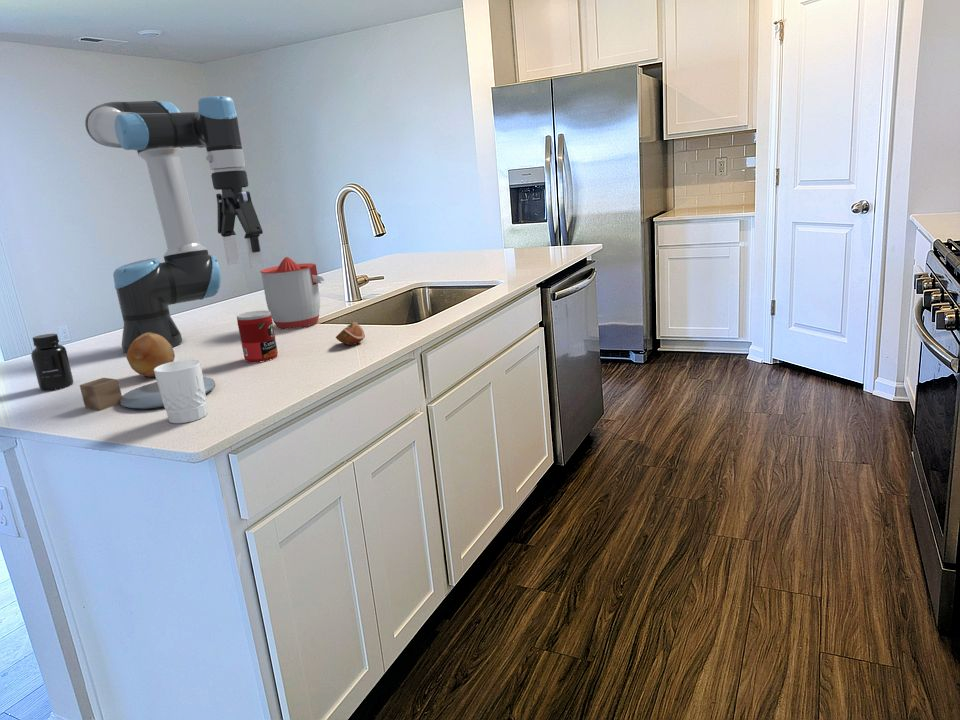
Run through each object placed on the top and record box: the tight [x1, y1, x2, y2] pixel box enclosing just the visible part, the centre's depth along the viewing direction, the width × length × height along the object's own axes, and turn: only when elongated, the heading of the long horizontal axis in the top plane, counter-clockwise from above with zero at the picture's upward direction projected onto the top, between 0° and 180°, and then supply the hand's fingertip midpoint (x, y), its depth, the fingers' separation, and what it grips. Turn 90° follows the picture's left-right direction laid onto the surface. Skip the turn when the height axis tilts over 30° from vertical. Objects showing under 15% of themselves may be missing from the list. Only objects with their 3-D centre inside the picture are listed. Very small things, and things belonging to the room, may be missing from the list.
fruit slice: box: [335, 321, 366, 345], centre depth 171 cm, size 8×7×5 cm
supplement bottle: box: [30, 333, 74, 391], centre depth 156 cm, size 7×7×12 cm
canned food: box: [236, 310, 278, 363], centre depth 164 cm, size 8×8×11 cm
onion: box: [126, 332, 175, 378], centre depth 158 cm, size 10×10×10 cm
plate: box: [120, 376, 216, 409], centre depth 142 cm, size 18×18×1 cm
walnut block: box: [79, 377, 123, 411], centre depth 139 cm, size 5×5×5 cm
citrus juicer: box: [259, 256, 325, 330], centre depth 199 cm, size 16×17×20 cm
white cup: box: [154, 358, 208, 424], centre depth 126 cm, size 8×8×10 cm
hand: (245, 265), depth 160 cm, fingers open, 13 cm apart
